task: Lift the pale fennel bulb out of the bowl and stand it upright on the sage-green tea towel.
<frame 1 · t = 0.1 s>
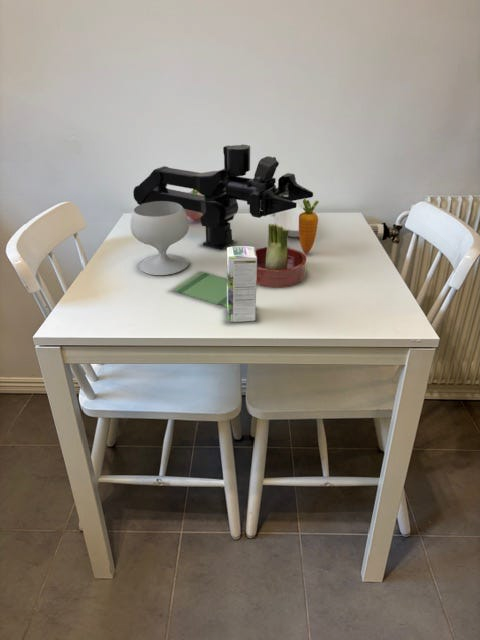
hand: (304, 200, 114), 17 cm above the table, tool horizontal, fingers open, 9 cm apart
spoon rest: (289, 227, 146), on the table
syrup box: (241, 315, 102), on the table
chalice: (164, 266, 123), on the table
carrot: (305, 254, 128), on the table
fennel bulb: (275, 272, 118), resting on bowl
decorative fruit: (194, 221, 151), on the table
bowl: (275, 273, 118), on the table
tea towel: (213, 289, 112), on the table
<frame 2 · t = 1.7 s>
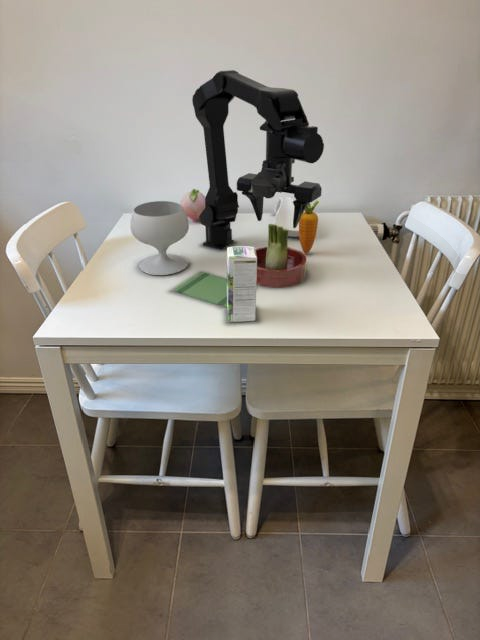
hand: (276, 224, 112), 13 cm above the table, tool pointing down, fingers open, 9 cm apart
nothing on the table moved.
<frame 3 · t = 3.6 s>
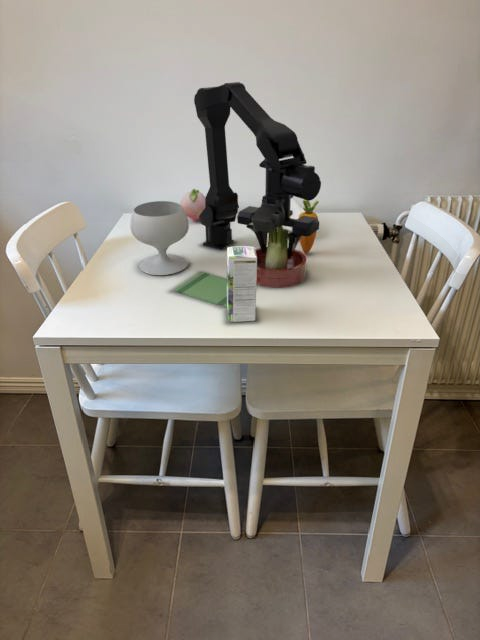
hand: (276, 255, 115), 5 cm above the table, tool pointing down, fingers closed on fennel bulb, 7 cm apart
fennel bulb: (275, 272, 118), resting on bowl, touching gripper
everything else where it was.
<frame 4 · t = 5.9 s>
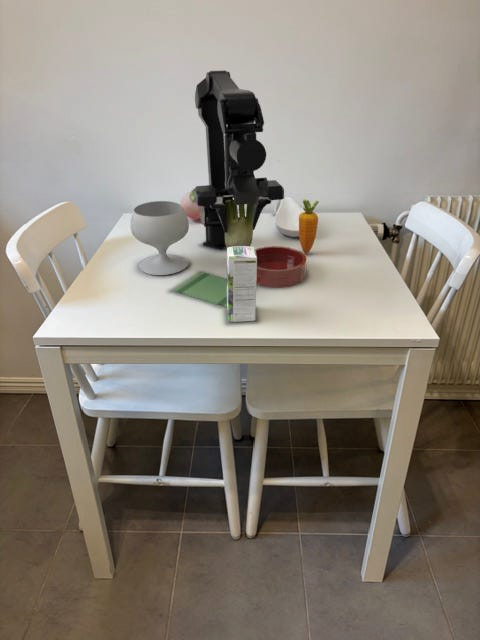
hand: (239, 230, 108), 13 cm above the table, tool pointing down, fingers closed on fennel bulb, 6 cm apart
fennel bulb: (238, 251, 110), point 8 cm above the table, touching gripper
everything else where it was.
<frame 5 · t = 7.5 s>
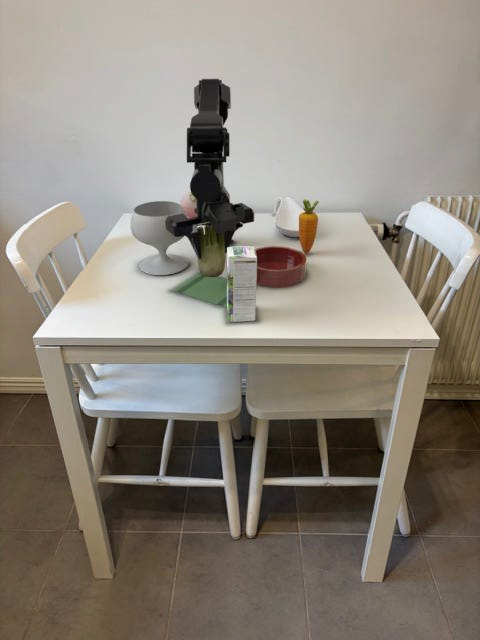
hand: (212, 255, 107), 8 cm above the table, tool pointing down, fingers closed on fennel bulb, 6 cm apart
fennel bulb: (212, 276, 110), point 3 cm above the table, touching gripper
everything else where it was.
when the fingers open (5 cm above the table, at t = 8.7 s): fennel bulb stays where it is, resting on tea towel.
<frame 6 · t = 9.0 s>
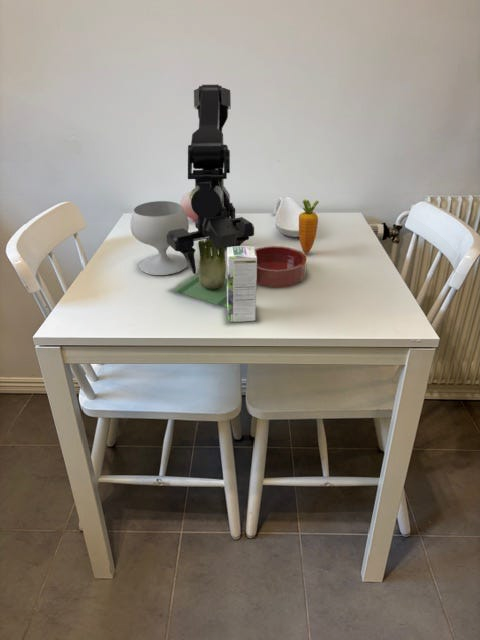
hand: (212, 269, 109), 5 cm above the table, tool pointing down, fingers open, 9 cm apart
fennel bulb: (212, 288, 112), resting on tea towel
everything else where it was.
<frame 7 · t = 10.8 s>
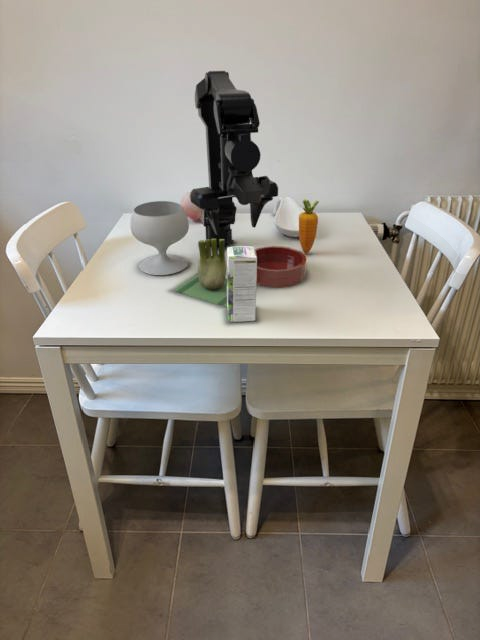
hand: (235, 230, 108), 13 cm above the table, tool pointing down, fingers open, 9 cm apart
nothing on the table moved.
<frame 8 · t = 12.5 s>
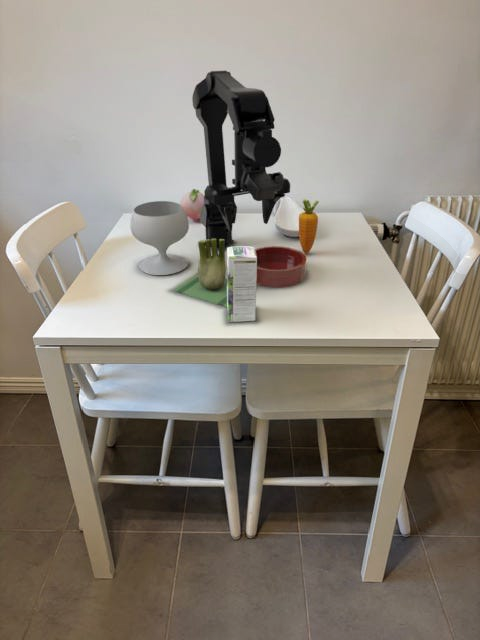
hand: (248, 226, 109), 13 cm above the table, tool pointing down, fingers open, 9 cm apart
nothing on the table moved.
at the end: fennel bulb inside the target area on the tea towel (0.2 cm from its centre), point 0.1 cm above the tea towel's base; fennel bulb tilted 0°; the gripper is holding nothing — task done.
